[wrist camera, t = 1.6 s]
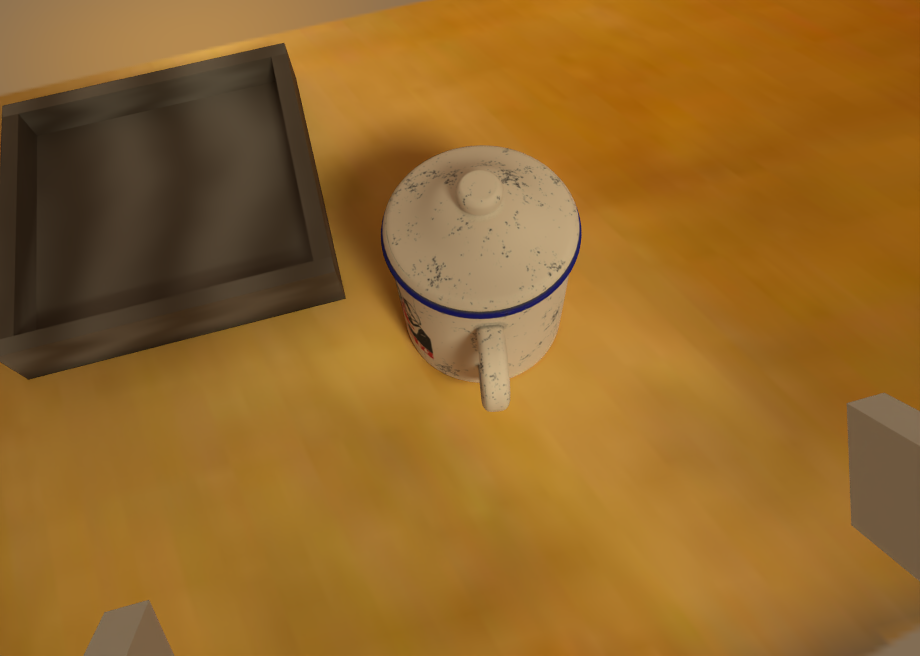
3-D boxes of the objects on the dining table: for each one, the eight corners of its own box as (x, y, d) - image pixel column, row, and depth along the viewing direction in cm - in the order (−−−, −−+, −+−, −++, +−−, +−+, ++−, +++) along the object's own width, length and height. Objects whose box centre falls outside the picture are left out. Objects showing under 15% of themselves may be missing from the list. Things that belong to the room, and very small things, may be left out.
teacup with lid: (398, 253, 41) (367, 111, 31) (551, 239, 41) (572, 92, 31) (408, 449, 36) (374, 359, 25) (584, 433, 36) (622, 337, 25)
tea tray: (28, 379, 38) (-7, 357, 36) (31, 138, 46) (2, 105, 44) (345, 298, 40) (334, 271, 37) (296, 78, 48) (284, 42, 45)
